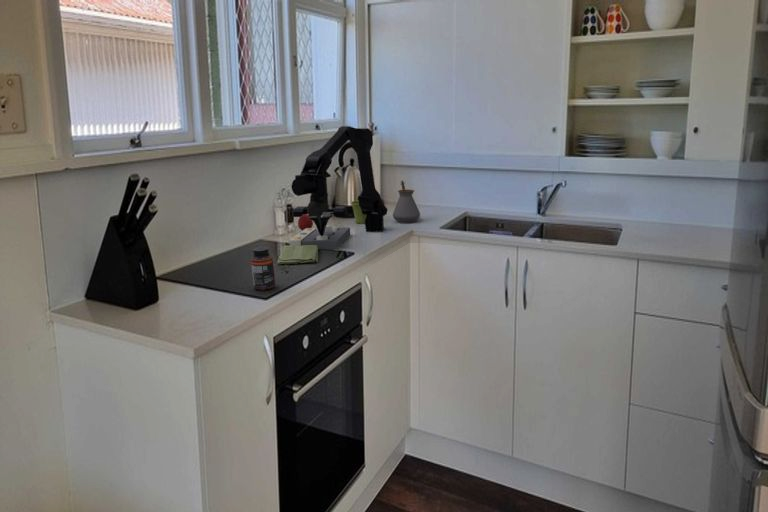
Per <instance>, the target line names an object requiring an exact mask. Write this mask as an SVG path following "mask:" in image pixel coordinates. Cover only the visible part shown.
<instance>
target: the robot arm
mask: <svg viewBox="0 0 768 512" xmlns="http://www.w3.org/2000/svg"><path fill="white" fill-rule="evenodd" d="M373 137H374V136H373V132H372V130H371V129H370V128H368V127H367V128H363V127H362V128H356V127H353V126H350V125H349V126H348V125H345V126H344V125H341V126H339V127H338V129H337V131H336V132H335V133H334V134H333V135H332V137H330V139H328V140H327V142H326V143H325V144H324V145H323V146H322V147H321V148H319V149H318V150H315V151H312V152H311V153H310V154H308V156H306V159H305V163H304V164H303V167H302V169H301V172H300V174H296V175H295V176H294V177H295V178H294V179H293V180H292V182H291V185H290V186H291V192H292V193H293V194H294V196H295V195H296V196H297V197H300V196H304V195H309V194H310V196H309V203H308V204H307V205H306V206H305V205H304V206H303V205H302V206H300V205H299V206H296V207H295V208H293V209H292V217H293V218H300V217H301V216H302V215H303V214H307V215H308V216H309V219H312V221H313V224H314V225H315V226H316V227H315V228H316V230H317V229H318V231H319V234H320V236H323V235H324V232H325V228H326V225H328V222H329V220H330V219H331V218H333V216H334V217H335V218H344V217H347V216H348V215H349V208H348V207H347V205H336V206H335V207H334V208H330V204H329V192H328V180H327V178H331V176H332V175H331V174H330V173H329V172H328V169H329V168H330V167H331V164H332V162H333V158H334V156H335V155H336V154H337V153H338V152H339V151H340V150H341V149H342V148H343V147H344V146H345V144H346V143H347V142H348V141H349V142H350V145H351V148H352V149H353V151H354V152H355V153H356V157H357V158H356V159H357V164H358V169H359V170H358V171H359V177H360V184H361V189H362V190H361V192H360V195H358V196H357V201H358V200H359V206H360V208H361V210H362V214H363V215H366V219H365V224H364V226H365V227H364V229H365V232H383V231H384V230H385V229H386V228H385V226H384V225H385V224H384V217H385V216H386V215H387V214H388V208H387V207H386V205H385V204H384V203H383V201H382V197H381V194H380V193H379V191H378V190H377V189H376V184H375V177H374V170H373V164H372V157H371V149H372V147H373V144H374V141H373V139H374V138H373Z"/></svg>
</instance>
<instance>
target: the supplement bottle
mask: <svg viewBox="0 0 768 512" xmlns="http://www.w3.org/2000/svg"><path fill="white" fill-rule="evenodd" d="M269 251H270V250H269V248H268V247H267V246H260V247H255V248H253V255H252V257H251V258H250V263H251V273H252V281H253V283H252V284H253V288H254V289H255V290H256V289H258V290H257V291H267V290H266V289H269V290H271V289H270V288H272V289H274V288H275V287H276V281H275V280H276V279H275V269H274V258H273V256H272V255H271V254H270V253H269ZM273 287H274V288H273Z"/></svg>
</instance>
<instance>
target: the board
mask: <svg viewBox="0 0 768 512" xmlns="http://www.w3.org/2000/svg"><path fill="white" fill-rule="evenodd" d="M318 235H320V234H319V231H318V229H317V228H316V231H314V232H313V233H312V234H311V235H309V236H308V237H307V238H306V239H304V240H303V241H302V243H303V245H317V247H318V249H337V248H338V247H339V246H340V247H341V246H342V245H343V244H344V242H346V241H347V239H349V237H351V227H337V231H333V235H332V236H328V240H316V237H317V236H318ZM341 244H342V245H341ZM340 247H339V248H340ZM339 248H338V249H339ZM338 249H337V250H338Z"/></svg>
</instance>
